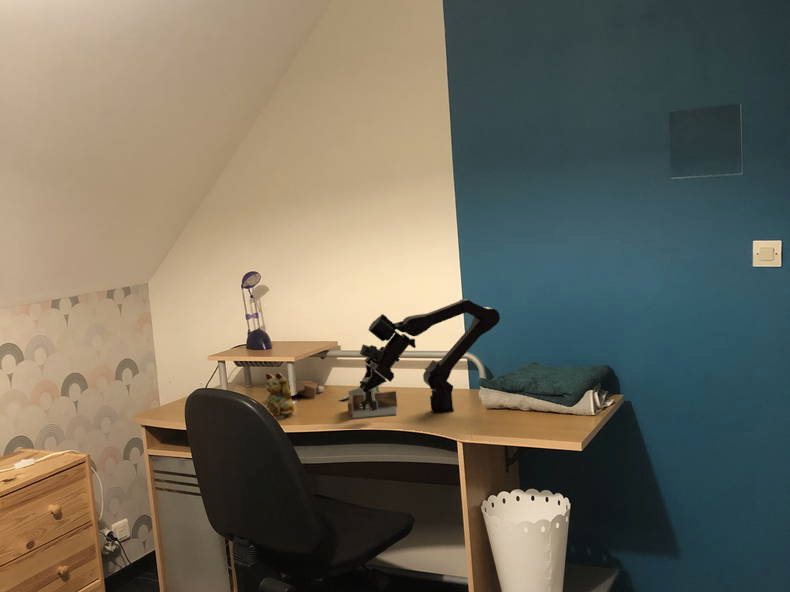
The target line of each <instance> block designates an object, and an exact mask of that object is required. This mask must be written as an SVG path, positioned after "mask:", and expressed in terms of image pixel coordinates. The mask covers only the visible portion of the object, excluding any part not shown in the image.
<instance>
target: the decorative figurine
mask: <svg viewBox="0 0 790 592" xmlns="http://www.w3.org/2000/svg"><path fill="white" fill-rule="evenodd" d="M265 378H266V380H267V381H266V382H265V383H266V384H265V390H266V391H267V392H269V393H270V394H269V395H268V396H267V397H266V400H265V401H266V408H267V409H268V411H270V412H271V413H272V414H273V416H274V417H275V418H274V419H281V420H282V419H285V418H289V417H291V416H293V413H294V412H295V404H294V403H293V402H294V401H293V399H292V397H291V392H290V390H289V386H288V382H289V381H288V379H287V378H286V377H285V376H283V374H282V373H281V372H277V373H276V374H275V376H274V375H273V374H271V373H266V374H265Z"/></svg>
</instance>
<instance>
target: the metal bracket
mask: <svg viewBox="0 0 790 592" xmlns="http://www.w3.org/2000/svg"><path fill="white" fill-rule="evenodd" d="M383 385H384V383H382V384H380V385H378V386H376V387H374V393H377V392H381V389H380V386H383ZM347 393H348V395H346V396H344V397H342V398H340V399H338V402H340V401H343V400H346V399H347V400H348V399H349V395H355V394H364V391H363V389H361V388H360V385H359V386H358V388H354V389H351V390H349V391H348V392H347Z"/></svg>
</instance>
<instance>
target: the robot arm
mask: <svg viewBox="0 0 790 592" xmlns="http://www.w3.org/2000/svg"><path fill="white" fill-rule="evenodd" d="M463 314H468V315H470V316H472V317H473V319H472V321H471V324H470V326H469V328H468V329H467V330H466V331H465V332H464V333H463V335H461V336H460V337H459V339H458V340H457V341H456V343H455V344H454V345H452V347H451V348H450V349H449V351H447V353H446V354H445V355H444V356H443V357H442V359H440V360H439V361H435V360H433V359H432V361H431V362H430V363H429V365H428V366H427V367H425V368H424V370H425V371H424V373H423V374H422V376H423V378H422V379H423V382H424V383H425V384H426V385H427V386H428V387H429V389H430V390H431V395H430V396H429V400H430V409H431V411H432V412H433V414H436V413H447V412H454V411H455V410H454V405H453V404H454V403H453V394H452V393H453V389H454V385H453V384H451V383H450V382H449V381H448V379H449V378H450V375H451V373H452V371H453V368H455V366H456V365H457V364H458V363H459V361H460V360H461V359H462V358H463V357H464V356H465V355H466V354H467V352H468V351H469V350H470V349H471V348H472V346H473V345H474V344H475V343H476V342H477V341H478V340H479V338H480V337H481V336H483V335H484V334H486V333H487V332H489V331H490V330H492V329H494V327H495V326H497V325H498V324H499V323H500V319H501V317H500V312H499V311H498V310H497V309H495V308H492V307H488V306H481V305H480V304H477V303H475V302H473V301H472V300H470V299H466V298H462V299H460V300H458V301H457V302H454V303H450V304H448V305H445V306H442V307H440V308H438V309H435V310H433V311H429V312H428V313H421V314H414V315H410V316H406V317H405V318H404V319H403V320H402V321H401V320H400V321H399V322H398V321H397V322H392V321H391V320H390V319H389V318H388V317H387V316H386V315H385V314H384V313H381V314H380V315H379V316H378V317H377V318H376V319H375V320H373V321H372V323H370V325H369V327H368V331H369V332H370V333H371V334H372V335H373V336H375V337H376V338H377V339H378V340H380V341H381V342H385V341H386V342H387V343H386V344H385V345H384V346H381V347H380V348H377V346H375V345H373V344H371V345H366V344H362V346H361V348H360V352H359V355H361V356H363V357H366V358H365V360H364V362H365V363H366V364H364V365H365V374H364V376H363V378H366V377H370V378H369V380H368V381H367V383H366V385H365V387H364V388H363V387H361V384H360V385H359V386H360V388H361V389H363V391H364V392H367V391H369V390H371V389H373V388H374V387H376V386H378V385H381V384H384V383H386V382H388V381H389V383H391V382H392V381H393V380H394V378H395V373H394V372H393V371H392V368H393V366H394V365H395V364H396V362H397V363H398V362H400V357H401V356H402V354H403V353H404V352H405V351H406V350H407V348H408V347H409V346H410V347H412V348H413V349H416V347H417V345H416V339H415V338H410V337H409V336H411V337H418V336H420V335H422V334H423V333H425V332H426V331H428V330H429V329H430V328H431V327H433V326H435V325H437V324H439V323H440V324H441V323H442V322H446V321H447V320H450V319H453V318H456V317H458V316H460V315H463ZM396 330H397V331H398V332H397V331H396ZM399 332H401V333H402V334H400V333H399ZM406 334H407V335H406ZM408 335H409V336H408Z"/></svg>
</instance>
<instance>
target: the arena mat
mask: <svg viewBox="0 0 790 592" xmlns="http://www.w3.org/2000/svg"><path fill="white" fill-rule="evenodd" d="M391 416H397V406H396V405H393V406H382V407H378V409H377V410H374V411H372V410H363V408H360V409H354V413H353V419H352V420H358V419H367V418H368V419H369V418H379V417H391Z"/></svg>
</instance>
